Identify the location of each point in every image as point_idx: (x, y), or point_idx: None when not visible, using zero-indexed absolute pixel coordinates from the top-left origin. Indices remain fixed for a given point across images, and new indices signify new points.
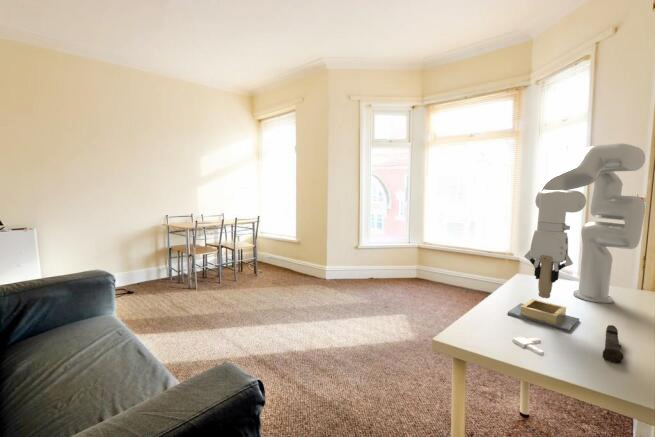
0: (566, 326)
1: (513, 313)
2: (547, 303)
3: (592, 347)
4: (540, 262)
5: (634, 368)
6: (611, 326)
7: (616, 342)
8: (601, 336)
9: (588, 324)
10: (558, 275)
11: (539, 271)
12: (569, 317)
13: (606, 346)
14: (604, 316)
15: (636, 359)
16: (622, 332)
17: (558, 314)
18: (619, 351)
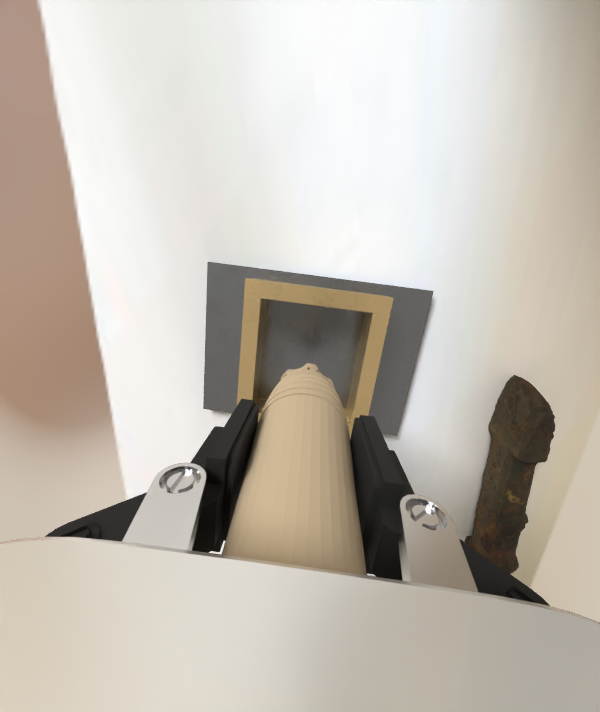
0: (388, 412)
1: (223, 410)
2: (315, 299)
3: (447, 487)
4: (193, 537)
5: (522, 539)
6: (541, 423)
7: (521, 517)
8: (484, 391)
9: (457, 299)
10: (402, 472)
11: (239, 491)
12: (398, 307)
13: (487, 543)
14: (541, 120)
15: (541, 491)
16: (563, 299)
17: (367, 415)
18: (513, 570)
